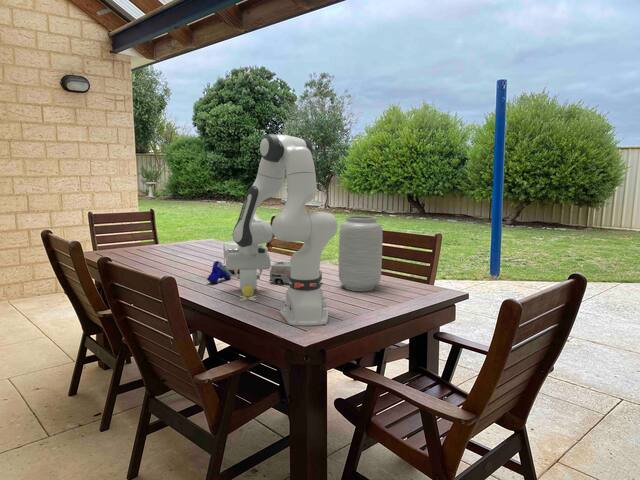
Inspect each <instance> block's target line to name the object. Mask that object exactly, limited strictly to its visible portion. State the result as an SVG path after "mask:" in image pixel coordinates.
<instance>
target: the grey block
mask: <svg viewBox="0 0 640 480" xmlns="http://www.w3.org/2000/svg"><path fill="white" fill-rule="evenodd" d="M257 270H258V269H240V270H239V275H240V279H239V289H240V290H242V289H243V287H244V286H246V285H250V286H252V287H253V289H254V290H257V289H258V279H257V275H258V274H257V272H258V271H257Z"/></svg>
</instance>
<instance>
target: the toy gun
mask: <svg viewBox="0 0 640 480" xmlns="http://www.w3.org/2000/svg"><path fill="white" fill-rule="evenodd" d="M211 266H212V268H211V272H210V274H209V275H208V277H207V278H206V280H207V281H209V282H210V283H211V284H214V283H215V285H218V284H219V280H220V279H221V280H222V279H224V280H229V281H231V277H232V275H233V273H232V272H231V270H227V269H226V266H224V264H222V261H219V260H216V261H214V262H213V263H212V265H211Z"/></svg>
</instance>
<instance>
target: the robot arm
mask: <svg viewBox="0 0 640 480" xmlns="http://www.w3.org/2000/svg"><path fill="white" fill-rule="evenodd" d="M259 153H260V156H261V158H260V162H259V166H258V169H257V175H256V178H255V180H254V182H253V184H252V185H251V186H250V187H249V188H248V189H247V192H246V194H245V196H244V201H243V203H242V207H241V209H240V213H239V217H238V219H237V221H236V224H235V226H234V228H233V230H232V239H233V241H234V242H235V244H236V245H237V246H238V248H228V249H227V250H225V251H224V258H225V267H226V269H227V270H229V271H232V270H233V272H234V274H235V275H236V280H240V274H239V273H238V270H239V271H240V269H257V270H258V271H259V273H258V274H257V280H261V274H262V273H263V270H271V266H272V263H271V257H270V254H269V253H268V252H269V248H268V247H267V246H264V245H262V244H268V243H271V241H272V240H273V238H275V239H276V240H278V241H282V242H289V243H292V242H293V243H294V242H303V245H302V246H301V248H299V250H297V251H294V253H293V254H292V255H291V257H290V261H289V262H290V277H289V283H288V289H287V290H285V293H284V309H280V310H279V314H280V315H281V317H282V318H283V319H284V320H285V321H286V323H287V324H288V325H292V326H304V327H306V326H321V325H325V324H328V321H329V313H330V312H329V311H330V309H328V308H327V307H328V306H327V305H328V302H327V301H325V300H326V296H325V295H324V290H323V289H322V288H321V282H322V280H320V277H319V271H320V270H321V269H320V267H321V265H320V264H321V258H322V253H323V250H324V249H325V248H326V246H327V244H328V243H329V242H330V240H332V239H333V238H334V237H335V236H336V234H337V231H338V228H339V227H338V225H339V223H338V220H337V218H336V216H335V215H334V214H333V213H331V212H326V211H306V210H305V208H306V204H308V203H310V202H312V201H313V200H314V199H315V198H316V196H317V194H318V189H317V188H318V187H317V176H316V169H315V162H314V159H313V155H314V148H313V145H312V142H310V140H308V139H307V138H303V137H297V136H291V135H289V134H275V133H268V134H265V135H264V136H262V138H261V140H260V143H259ZM285 174H286V190H287V191H286V192H287V193H286V200H285V203H284V206H283V208H282V209H281V211H280V212H279V213H278V214H276V216H275V217H274V218H273V220H272V223H270V222H267V221H265V220H263V219H261V218H260V217H259V216H258V214H257V213H256V211H257V208H258V207H259V205H260V204H261V203H262V202H264V201H266V200H268V199H269V198H272V197H274V196H276V195H277V194H278V193H280V191H281V190H282V188H283V184H284V180H285Z"/></svg>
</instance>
